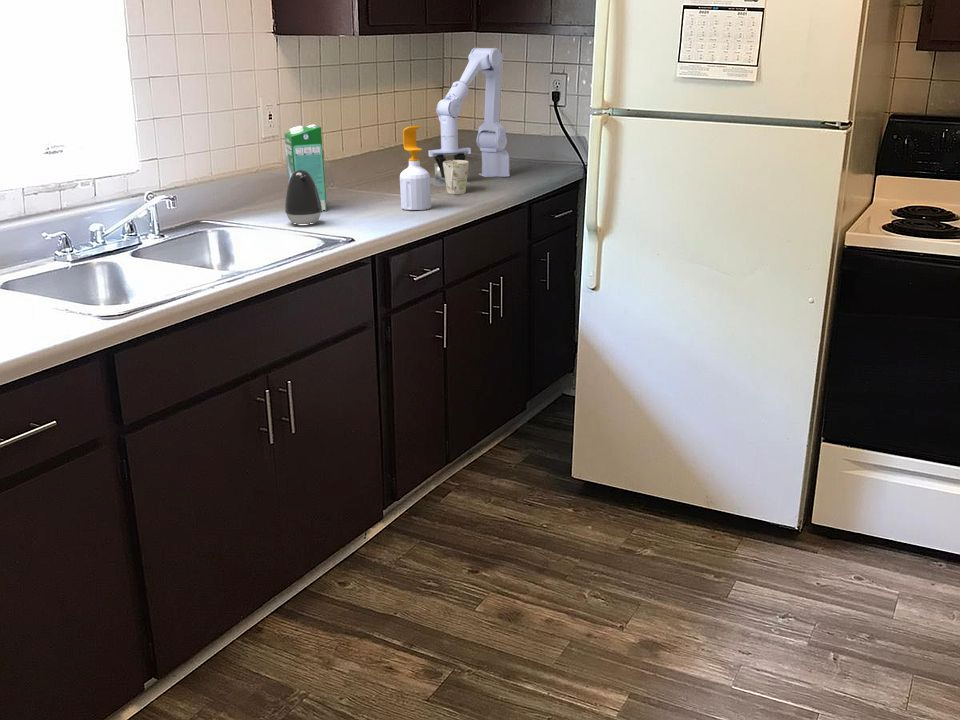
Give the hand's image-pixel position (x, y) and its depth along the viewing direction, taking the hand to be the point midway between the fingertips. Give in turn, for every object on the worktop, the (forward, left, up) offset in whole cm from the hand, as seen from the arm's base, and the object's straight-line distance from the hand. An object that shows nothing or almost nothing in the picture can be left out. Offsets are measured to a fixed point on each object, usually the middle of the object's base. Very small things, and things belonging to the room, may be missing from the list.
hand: (450, 176), depth 332 cm
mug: (+3, +16, -3) cm, 17 cm away
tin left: (0, -12, -2) cm, 12 cm away
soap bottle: (+21, +35, -3) cm, 41 cm away
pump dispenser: (+56, +45, -3) cm, 72 cm away
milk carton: (+52, +25, -3) cm, 58 cm away
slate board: (0, -6, -3) cm, 6 cm away
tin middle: (0, -6, -2) cm, 7 cm away
